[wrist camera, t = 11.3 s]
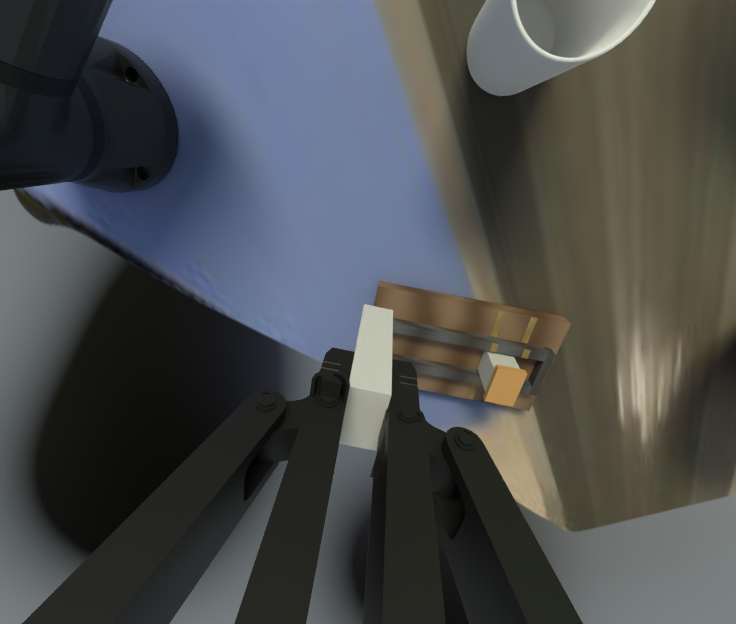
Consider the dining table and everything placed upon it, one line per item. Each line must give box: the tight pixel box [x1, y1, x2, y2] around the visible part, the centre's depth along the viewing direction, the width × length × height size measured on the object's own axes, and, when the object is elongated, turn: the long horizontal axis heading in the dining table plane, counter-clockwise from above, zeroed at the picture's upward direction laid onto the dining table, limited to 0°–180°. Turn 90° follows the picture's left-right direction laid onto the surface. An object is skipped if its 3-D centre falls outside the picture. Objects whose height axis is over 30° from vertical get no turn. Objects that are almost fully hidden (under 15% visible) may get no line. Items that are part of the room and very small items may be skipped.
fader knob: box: [477, 350, 527, 407], centre depth 43 cm, size 3×5×6 cm
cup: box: [466, 0, 656, 96], centre depth 26 cm, size 8×8×16 cm
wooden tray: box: [375, 281, 571, 411], centre depth 46 cm, size 24×14×4 cm, turn 80°
